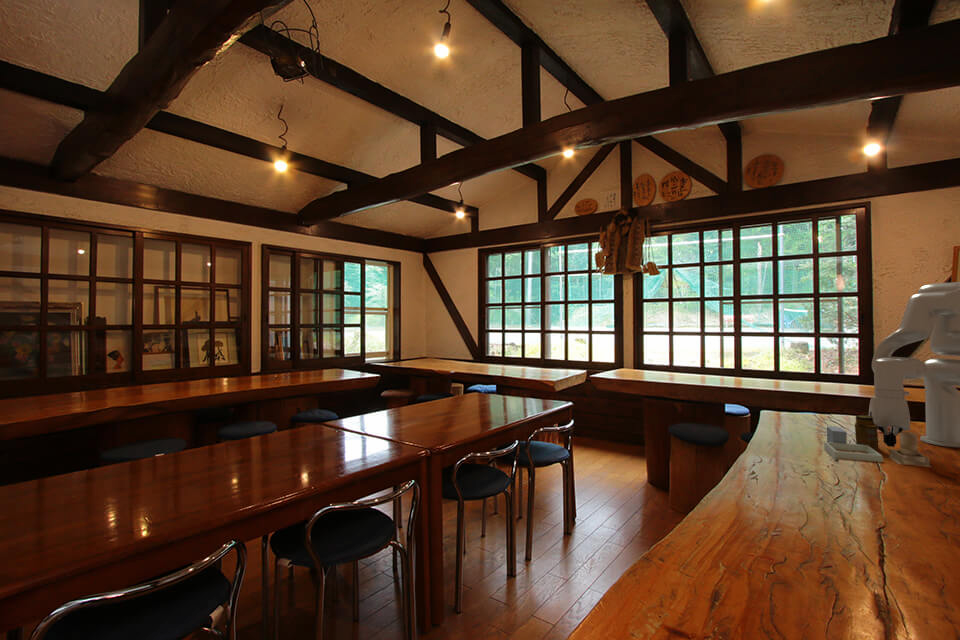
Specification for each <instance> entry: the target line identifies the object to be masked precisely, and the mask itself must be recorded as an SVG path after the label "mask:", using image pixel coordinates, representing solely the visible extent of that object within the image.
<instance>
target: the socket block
mask: <svg viewBox="0 0 960 640" xmlns="http://www.w3.org/2000/svg"><path fill="white" fill-rule="evenodd" d="M887 458H888V459H889V458H890V459H891V460H892V461H893V462H896V463H897V464H898V465H908V466H915V467H916V466H917V467H918V466H919V467H927V468H928V467H929V468H932V465H930V458H929V457H928V456H926V455H924V454H923V453H921V452H919V451H918V457H917V456H906V455H901V454H900V449H889V455H888V456H887Z"/></svg>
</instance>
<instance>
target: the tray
mask: <svg viewBox="0 0 960 640" xmlns="http://www.w3.org/2000/svg"><path fill="white" fill-rule="evenodd" d="M823 445H824V446H823V450H824V451H825V452H826V453H827V455H829V456H830V457H831V458H832V460H834V461H835V462H836V461H837V462H839V461H840V460H839V459H843V460H844V459H846V460H856V461H867V462H876V463H878V462H879V463H883V462H884V461H883V460H884V459H883V455H882V454H881V453H879V452H877V450H874V449H872V448H871V447H870V446H868V445H858V444H856V443H855V444H854V443H847V444H845V443H833V442H827V441H824V442H823ZM839 450H840V451H839ZM841 450H845V451H841ZM851 451H855V452H851ZM860 452H861V453H860ZM863 452H864V453H863ZM865 452H866V453H865Z"/></svg>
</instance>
